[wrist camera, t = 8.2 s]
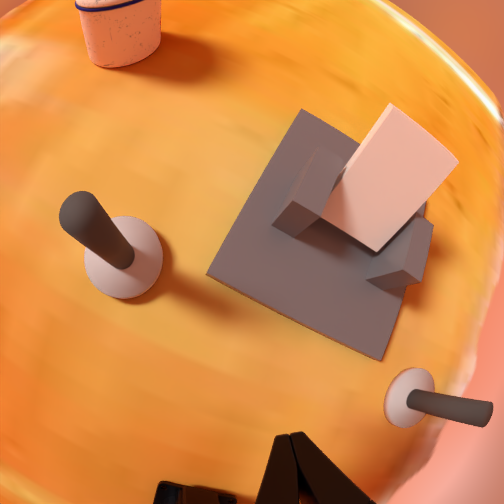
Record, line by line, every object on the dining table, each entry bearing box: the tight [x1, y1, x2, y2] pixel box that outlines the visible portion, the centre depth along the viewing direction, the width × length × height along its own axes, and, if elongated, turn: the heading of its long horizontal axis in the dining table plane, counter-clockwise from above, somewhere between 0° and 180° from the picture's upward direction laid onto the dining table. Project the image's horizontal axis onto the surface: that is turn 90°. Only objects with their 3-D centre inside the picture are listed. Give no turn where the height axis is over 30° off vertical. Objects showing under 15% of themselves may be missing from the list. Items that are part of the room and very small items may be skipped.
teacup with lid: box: [75, 0, 161, 68], centre depth 19 cm, size 12×9×12 cm
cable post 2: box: [384, 368, 493, 428], centre depth 18 cm, size 6×6×10 cm
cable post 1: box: [59, 191, 163, 299], centre depth 16 cm, size 6×6×10 cm
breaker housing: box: [206, 109, 434, 361], centre depth 22 cm, size 18×16×6 cm
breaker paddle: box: [321, 103, 459, 252], centre depth 19 cm, size 2×6×10 cm, turn 64°
